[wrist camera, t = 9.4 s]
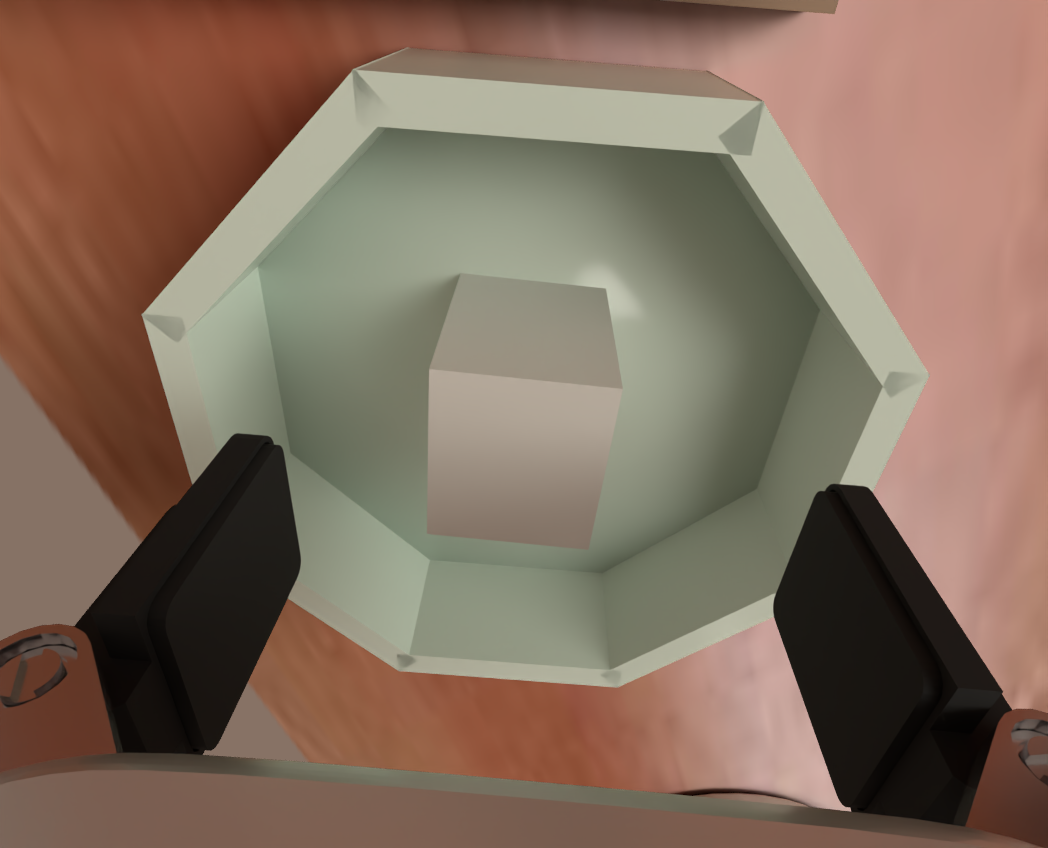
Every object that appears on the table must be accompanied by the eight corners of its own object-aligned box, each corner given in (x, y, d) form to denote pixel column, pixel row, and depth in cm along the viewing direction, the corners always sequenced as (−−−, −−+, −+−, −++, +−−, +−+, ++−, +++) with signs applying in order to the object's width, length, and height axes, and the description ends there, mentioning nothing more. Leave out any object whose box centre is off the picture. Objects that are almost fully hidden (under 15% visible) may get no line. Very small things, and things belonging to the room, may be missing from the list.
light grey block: (606, 288, 16) (623, 388, 12) (581, 427, 18) (588, 549, 14) (460, 272, 16) (428, 369, 12) (454, 414, 18) (426, 533, 14)
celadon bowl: (919, 87, 14) (1053, 123, 10) (736, 582, 23) (771, 699, 19) (194, 30, 14) (61, 45, 10) (295, 548, 23) (243, 659, 19)
